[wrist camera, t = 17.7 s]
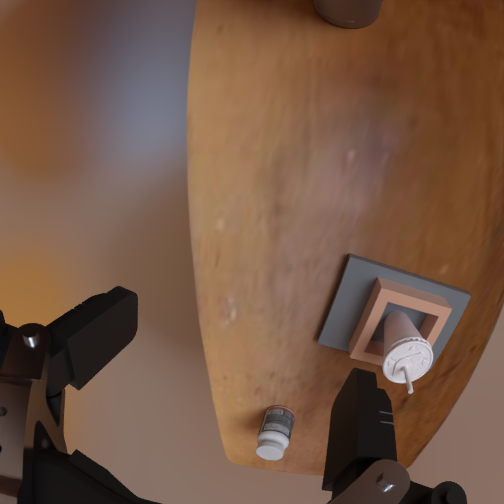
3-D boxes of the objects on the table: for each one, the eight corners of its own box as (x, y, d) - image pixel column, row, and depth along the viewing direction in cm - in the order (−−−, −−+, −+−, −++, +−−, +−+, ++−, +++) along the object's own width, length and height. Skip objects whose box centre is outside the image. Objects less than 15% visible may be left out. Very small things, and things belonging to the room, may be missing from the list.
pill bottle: (284, 426, 50) (274, 465, 41) (260, 414, 51) (246, 452, 42) (301, 413, 48) (292, 454, 39) (275, 400, 48) (263, 440, 39)
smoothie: (365, 322, 38) (374, 391, 25) (399, 293, 36) (424, 354, 23) (392, 347, 38) (405, 416, 25) (424, 320, 36) (452, 384, 23)
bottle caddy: (349, 253, 38) (351, 266, 33) (467, 291, 34) (480, 306, 29) (317, 337, 42) (315, 357, 38) (427, 365, 39) (434, 384, 34)
